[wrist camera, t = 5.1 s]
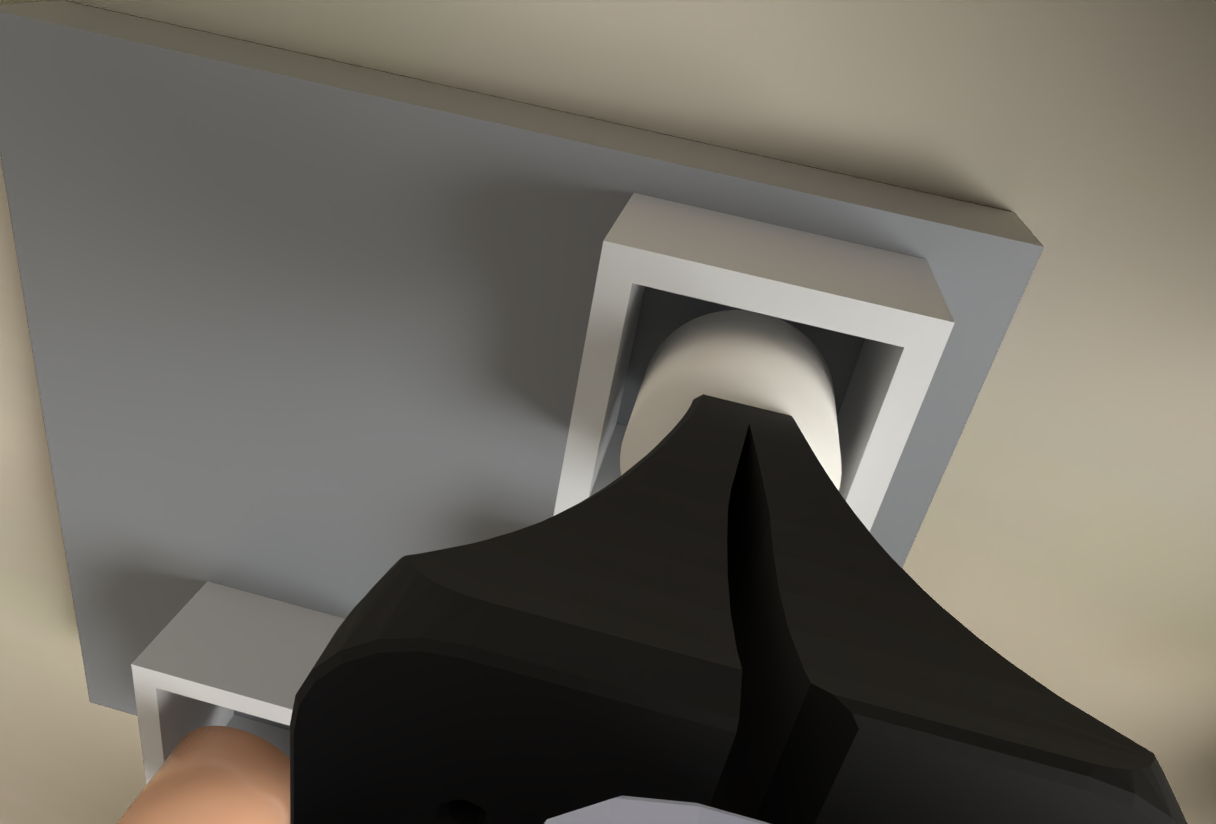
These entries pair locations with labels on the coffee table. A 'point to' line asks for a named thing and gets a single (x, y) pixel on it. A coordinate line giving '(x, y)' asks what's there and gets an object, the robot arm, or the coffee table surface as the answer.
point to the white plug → (736, 381)
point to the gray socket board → (406, 331)
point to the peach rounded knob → (217, 782)
